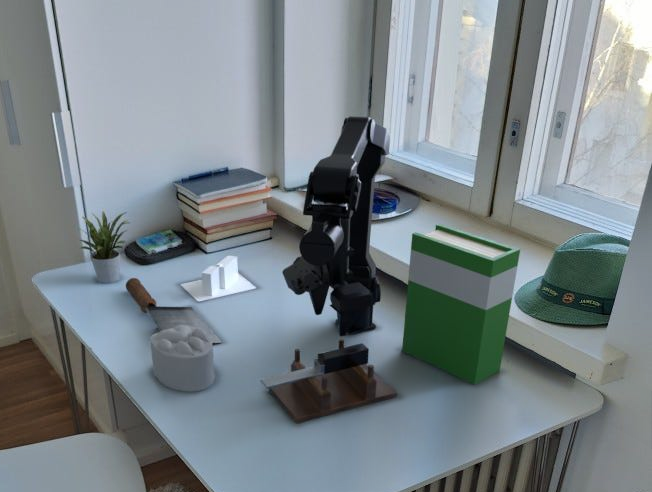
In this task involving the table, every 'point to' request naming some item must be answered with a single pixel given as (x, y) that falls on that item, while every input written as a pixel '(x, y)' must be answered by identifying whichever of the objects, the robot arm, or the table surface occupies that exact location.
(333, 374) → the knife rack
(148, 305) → the meat cleaver
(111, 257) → the house plant
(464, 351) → the hardback book
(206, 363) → the lumpy-topped squat cylinder
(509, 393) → the table surface
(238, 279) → the napkin holder
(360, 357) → the kitchen knife
